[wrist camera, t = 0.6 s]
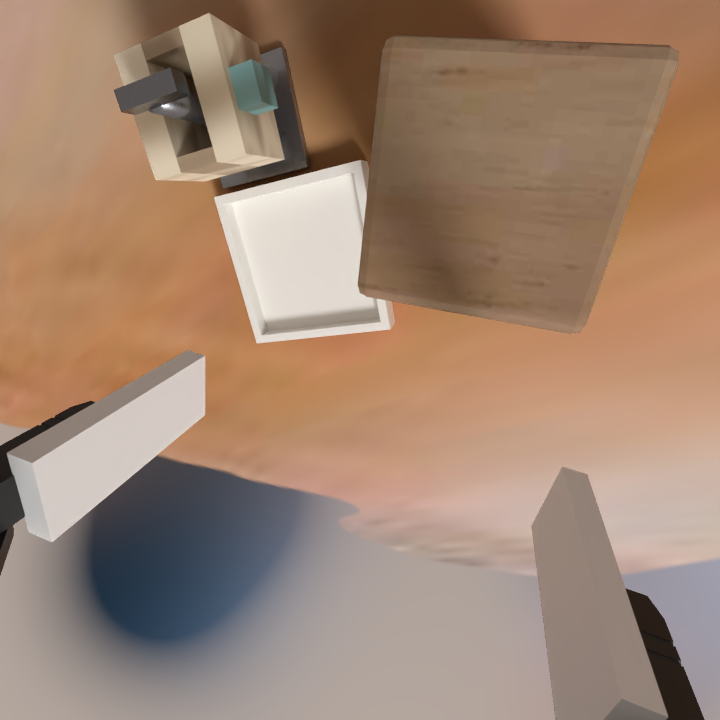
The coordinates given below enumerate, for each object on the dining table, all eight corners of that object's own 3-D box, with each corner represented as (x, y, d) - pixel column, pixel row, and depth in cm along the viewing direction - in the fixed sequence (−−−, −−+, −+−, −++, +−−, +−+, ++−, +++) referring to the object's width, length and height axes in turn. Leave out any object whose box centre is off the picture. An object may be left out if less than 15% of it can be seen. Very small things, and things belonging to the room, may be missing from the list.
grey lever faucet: (198, 82, 37) (54, 29, 24) (285, 49, 34) (171, -29, 21) (227, 188, 40) (112, 188, 27) (310, 167, 37) (222, 156, 24)
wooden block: (534, 262, 34) (584, 339, 17) (418, 244, 36) (353, 297, 19) (572, 127, 30) (692, 41, 12) (439, 117, 32) (380, 29, 15)
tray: (227, 196, 40) (213, 197, 38) (367, 161, 35) (360, 159, 33) (266, 336, 45) (256, 343, 43) (395, 322, 40) (390, 329, 38)
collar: (173, 76, 33) (113, 54, 28) (278, 35, 30) (233, 2, 24) (205, 181, 36) (155, 179, 30) (304, 154, 32) (268, 147, 27)
